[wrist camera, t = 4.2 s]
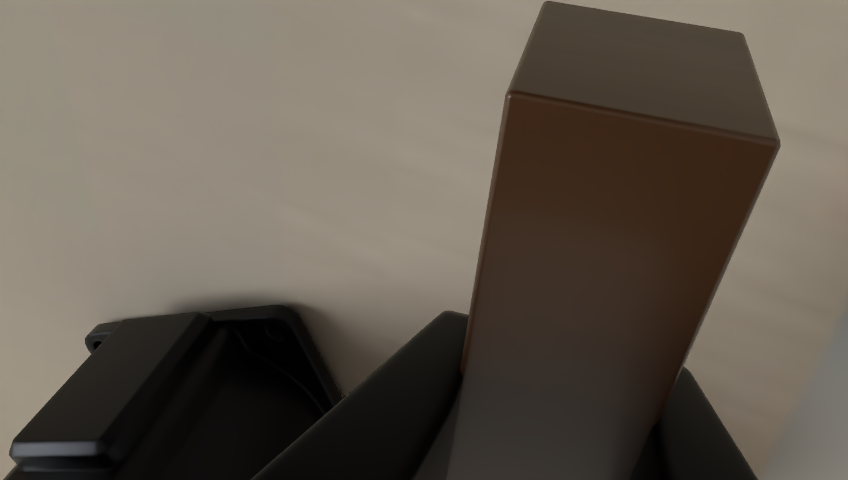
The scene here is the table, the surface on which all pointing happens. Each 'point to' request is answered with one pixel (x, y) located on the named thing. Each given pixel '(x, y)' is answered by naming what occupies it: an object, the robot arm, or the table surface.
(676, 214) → the stick
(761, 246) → the table surface
